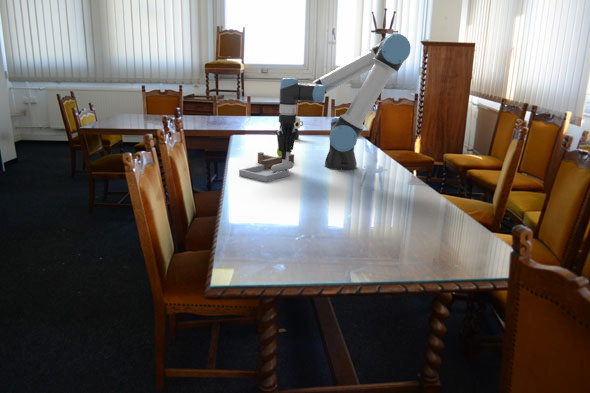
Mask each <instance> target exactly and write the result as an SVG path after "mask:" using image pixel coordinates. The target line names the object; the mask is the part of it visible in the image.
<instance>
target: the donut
mask: <svg viewBox="0 0 590 393" xmlns="http://www.w3.org/2000/svg"><path fill="white" fill-rule="evenodd" d="M293 168H294V163H292V162H290V161H289V162H284V163H280V164H276V165H273V166H272V167H271V168H270V171H272V172H280V171H284V170H292V169H293Z"/></svg>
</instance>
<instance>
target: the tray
mask: <svg viewBox="0 0 590 393" xmlns="http://www.w3.org/2000/svg"><path fill="white" fill-rule="evenodd" d="M289 170H290V169H288V170H284V171H280V172H272V170H269V169H266V170H264V165H261V164H259V165H254V166H250V167H246V168H242V169H238V171H239V172H238V176H239V177H245V178H247V179H252V180H257V181H261V182H264V183H268V182H270V181H274V180H275V181H276V180H279V179H282V178H287V177H289Z"/></svg>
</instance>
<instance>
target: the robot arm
mask: <svg viewBox="0 0 590 393" xmlns="http://www.w3.org/2000/svg"><path fill="white" fill-rule="evenodd" d="M411 47H412V46H411V43H410V41H409V39H408V38H407V37H406V36H405V35H403V34H401V33H391V34H389V35H388V36H386V37H384V38H383V39H382V40H381V41H380V42H378V43H377V44H375V45H374V46H372V47H370V49H369V51H367V52H365V53H364V54H362V55H359V56H358V57H356V58H354V59H352V60H350V61H349V62H347V63H344V64H343V65H341V66H339V67H337V68H336V69H333V70H332V71H330V72H328V73H326V74H324V75H322V76H321V77H319V78H317V79H314V80H313V81H310V82H309V83H301V82H299V79H298V78H297V77H296V78H295V77H294V78H293V77H283V78H281V79H280V86H279V109H278V110H279V111H278V112H279V114H278V122H279V123H280V125H279V129H278V130H277V129H276V130H275V134H276V138H277V149H278V148H279V151H281V152H282V163H284V162H289V153H290V152H291V153H292V151H293V149H294V145H295V141H296V139H295V136H296V133H297V129H295V128H294V123H295V122H296V117H297V115H296V114H297V102H311V103H323V102H324V101H325V95H326V94H328V93H330V92H331V91H333V90H335V89H337V88H339V87H341V86H343V85H345V84H346V83H349V82H350V81H352V80H354V79H357V78H358V77H360V76H362V75H364V74H366V73H368V72H369V73H368V74H367V75H366V78H365V79H364V81H363V83H362V85H361V86H360V87H359V90H358V91H357V93H356V95H355V96H354V98H353V99H352V102H351V103H350V105H349V107H348V109H347V110H346V112H345V113H344V114H340V115H339V117H333V118H331V120H330V121H331V122H330V132H329V133H330V134H329V137H328V138H329V149H328V153H327V155H326V157H325V160H324V166H325V167H326V168H328V169H331V170H343V171H345V170H346V171H348V170H354V169H356V168H357V164H358V163H357V160H356V159H357V158H356V154H355V146H356V144H357V142H358V139H359V137H360V135H361V134H362V131H363V130H364V125H363V123H364V122H365V120H366V118H367V116H368V115H369V113H370V111H371V110H372V108H373V107H374V104H375V103H376V101H377V100H378V98H379V97H380V95H381V93H382V91H383V90H384V88H385V86H386V85H387V84H388V81H389V80H390V78H391V77H392V75H394V74H396V73H398V72H399V70H400V68H401V67H402V65H403V63H404V62H405V61H406V60H407V59H408V58H409V56H410V53H411V49H412V48H411Z"/></svg>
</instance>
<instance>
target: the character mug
mask: <svg viewBox="0 0 590 393" xmlns="http://www.w3.org/2000/svg"><path fill="white" fill-rule="evenodd" d="M303 126H304V121H303V120H301V118H300V117H298V116H296V122H295V123H294V128H295V129H297V133H296V136H295V140H296V139H299V138H300V134H299V132H300V131H299V129H301V128H300V127H303Z"/></svg>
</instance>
